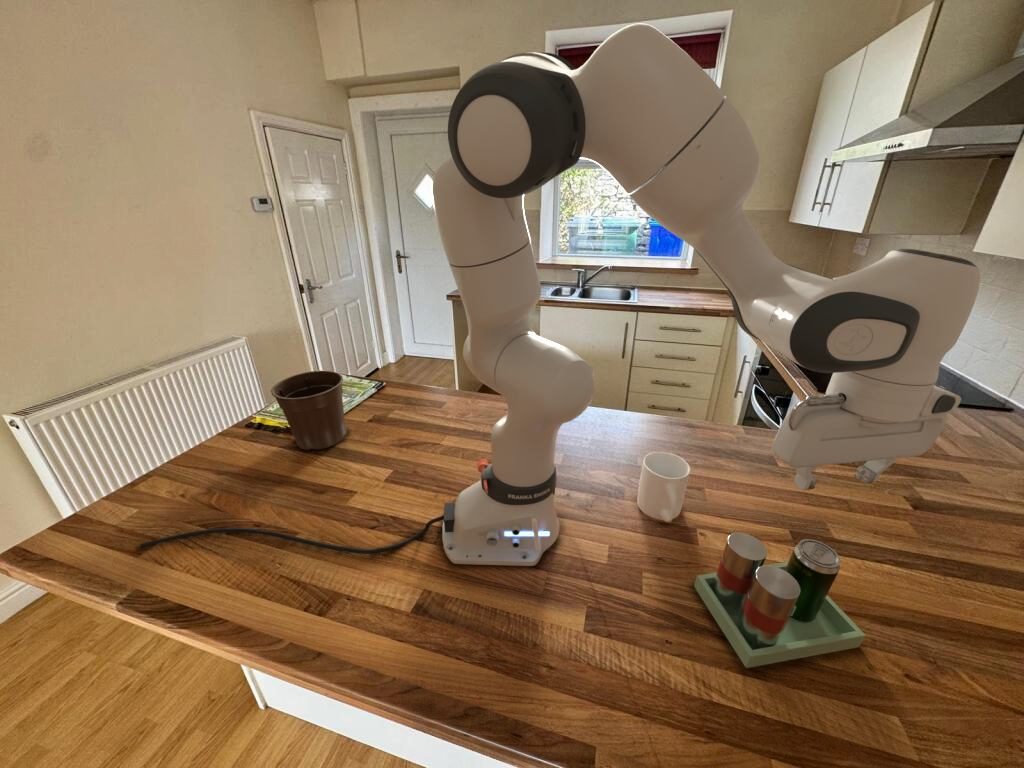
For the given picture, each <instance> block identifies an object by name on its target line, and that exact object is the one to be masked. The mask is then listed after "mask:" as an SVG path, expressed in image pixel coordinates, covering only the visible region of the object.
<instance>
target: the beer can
mask: <svg viewBox="0 0 1024 768" xmlns="http://www.w3.org/2000/svg"><path fill="white" fill-rule="evenodd" d="M787 562H788V565H787V567H786V569H785V571H786V572H788V573H789V574H790V575H791V576H793V577H794V578H795V580H796V581H797V582H798V584H799V586H800V595H799V597H798V599H797V601H796V603H795V606H794V608H793V610H792V612H791V616H790V618H789V619H790V620H792V621H795V622H797V623H808V622H811V621H813V620H814V619H815V617H816V615H817V613H818V611H819V609H820V607H821V605H822V603H823V601H824V600H825V598H826V596H827V595H828V594H829V592H830V590H831V587H832V585H833V583H834V581H835V580H836V577H837V576H838V573H839V572H840V569H841V562H842V560H841V557H840V556H839V554H838V553H837V551H835V550H834V549H833V548H832V547H830V546H829V545H828V544H825V543H824V542H822V541H819V540H816V539H810V538H805V539H801V540H800V541H799V542H798V544H796V545H795V546H794V548H793V550H792V553H791V555H790V557H789V559H788V561H787Z"/></svg>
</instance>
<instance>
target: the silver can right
mask: <svg viewBox="0 0 1024 768" xmlns="http://www.w3.org/2000/svg"><path fill="white" fill-rule="evenodd" d="M770 565H771V564H765V565H764V564H763V566H761V567H759V568H758V569H757V571H756V573H755V576H754V579H753V581H752V584H751V587H750V589H749V591H748V593H747V596H746V599H745V601H744V604H743V608H742V611H741V613H740V616H739V619H738V621H737V624H736V627H737V628H738V630H739V631H740V633H741V634H742V636H743V637H744V639H745V640H746V642H747V643H748V645H749V646H750V648H751V649H752V650H755V649H761V648H766V647H772V646H776V645H777V643H778V641H779V638H780V636H781V634H782V632H783V630H784V629H785V626H786V624H787V622H788V620H789V618H790V616H791V612H792V610H793V608H794V606H795V603H796V601H797V599H798V597H799V595H800V586H799V584H798V582H797V581H796V580H795V578H794V577H793V576H791V575H790V574H789V573H788V572H786V571H784V570H782V569H780V568H778V567H775V566H770Z"/></svg>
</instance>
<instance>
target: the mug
mask: <svg viewBox="0 0 1024 768" xmlns="http://www.w3.org/2000/svg"><path fill="white" fill-rule="evenodd" d="M690 475H691V466H690V465H689V463H688V462H687V461H686V460H685V459H684V458H682V457H681V456H678V455H677V454H674V453H672V452H666V451H652V452H649V453H647V454H646V455H645V456H644V457H643V461H642V467H641V472H640V477H639V483H638V490H637V496H636V502H637V507H638V508H639V509H640V511H641V512H642V513H643V514H645V515H646V516H648V517H650V518H652V519H655V520H659V521H664V522H666V523H671V522H672V521H673V520H674V519H676V518H677V517H679V515H680V514H681V512H682V508H683V504H684V500H685V495H686V491H687V486H688V483H689V478H690Z"/></svg>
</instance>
